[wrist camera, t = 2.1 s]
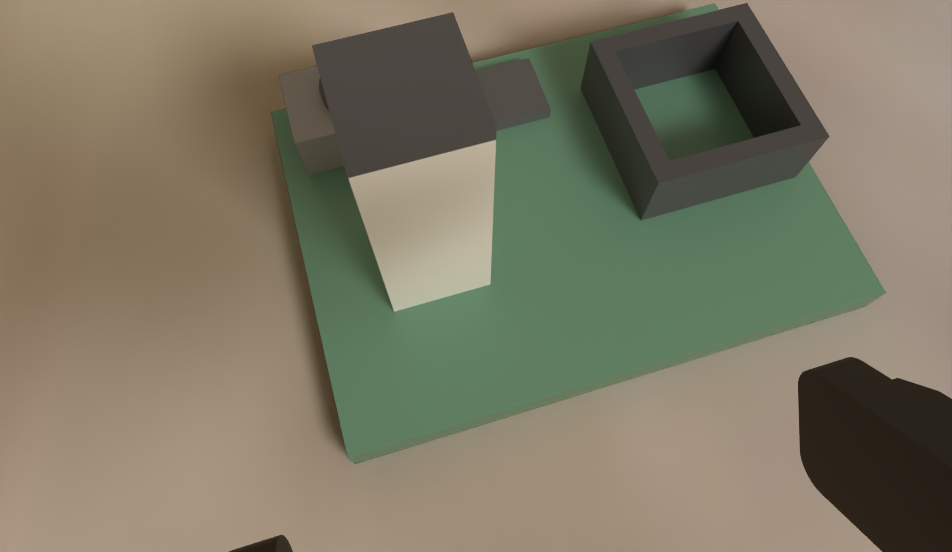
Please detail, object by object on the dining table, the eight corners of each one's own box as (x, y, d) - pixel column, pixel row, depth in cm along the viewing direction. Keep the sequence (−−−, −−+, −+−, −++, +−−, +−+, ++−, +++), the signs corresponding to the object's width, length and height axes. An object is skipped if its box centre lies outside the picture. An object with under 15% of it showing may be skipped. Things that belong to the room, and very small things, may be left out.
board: (354, 463, 25) (330, 445, 21) (279, 132, 31) (249, 67, 27) (866, 306, 28) (933, 261, 24) (704, 26, 34) (736, -49, 30)
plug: (394, 311, 26) (343, 165, 17) (370, 226, 28) (312, 45, 18) (490, 284, 27) (496, 126, 17) (462, 201, 28) (453, 12, 18)
